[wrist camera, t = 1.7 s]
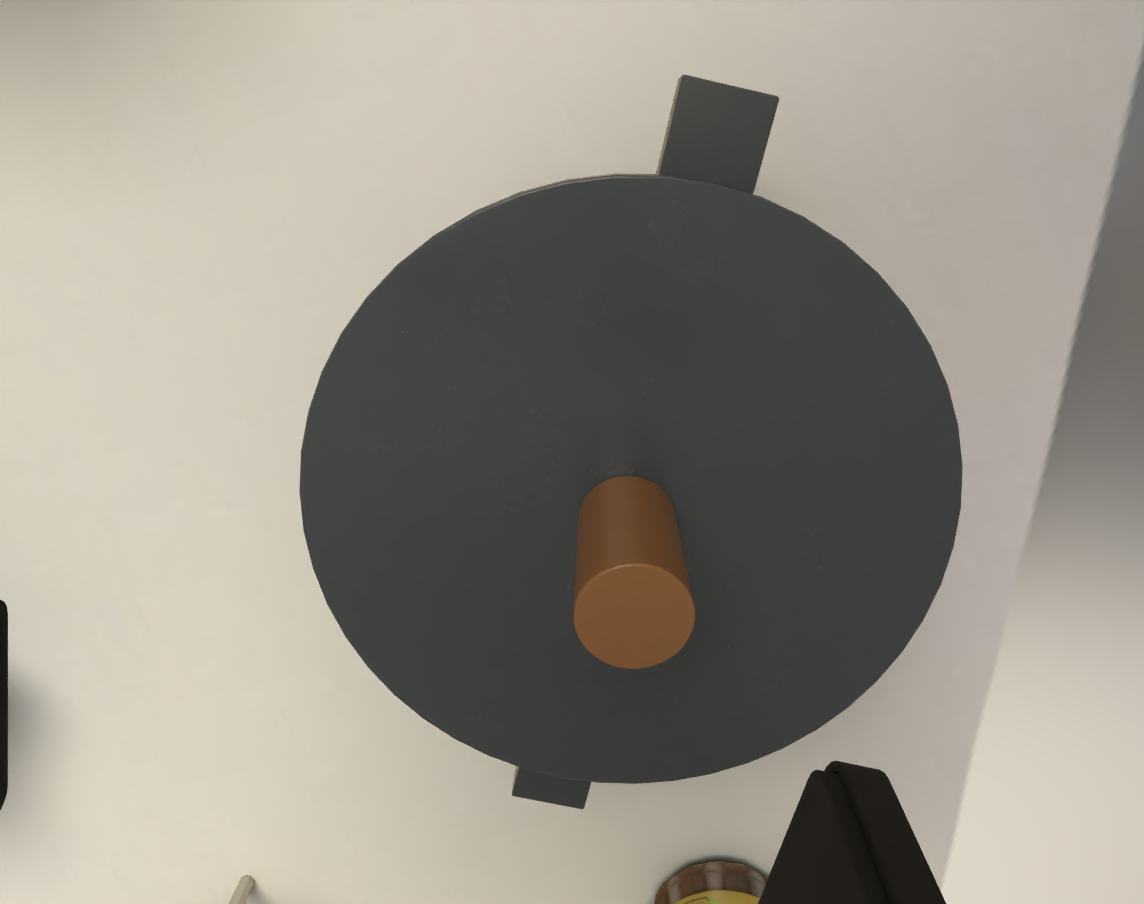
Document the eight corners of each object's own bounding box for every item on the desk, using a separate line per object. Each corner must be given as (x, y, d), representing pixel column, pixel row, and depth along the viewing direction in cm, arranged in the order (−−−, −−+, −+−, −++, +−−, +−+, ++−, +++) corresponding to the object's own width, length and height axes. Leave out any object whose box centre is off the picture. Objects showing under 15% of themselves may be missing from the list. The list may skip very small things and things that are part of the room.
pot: (930, 156, 29) (1079, 163, 20) (749, 689, 36) (798, 867, 27) (448, 44, 28) (379, 0, 19) (364, 612, 36) (287, 770, 27)
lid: (1049, 258, 21) (1218, 301, 15) (829, 803, 27) (892, 983, 22) (352, 99, 20) (256, 84, 15) (284, 698, 27) (196, 855, 21)
